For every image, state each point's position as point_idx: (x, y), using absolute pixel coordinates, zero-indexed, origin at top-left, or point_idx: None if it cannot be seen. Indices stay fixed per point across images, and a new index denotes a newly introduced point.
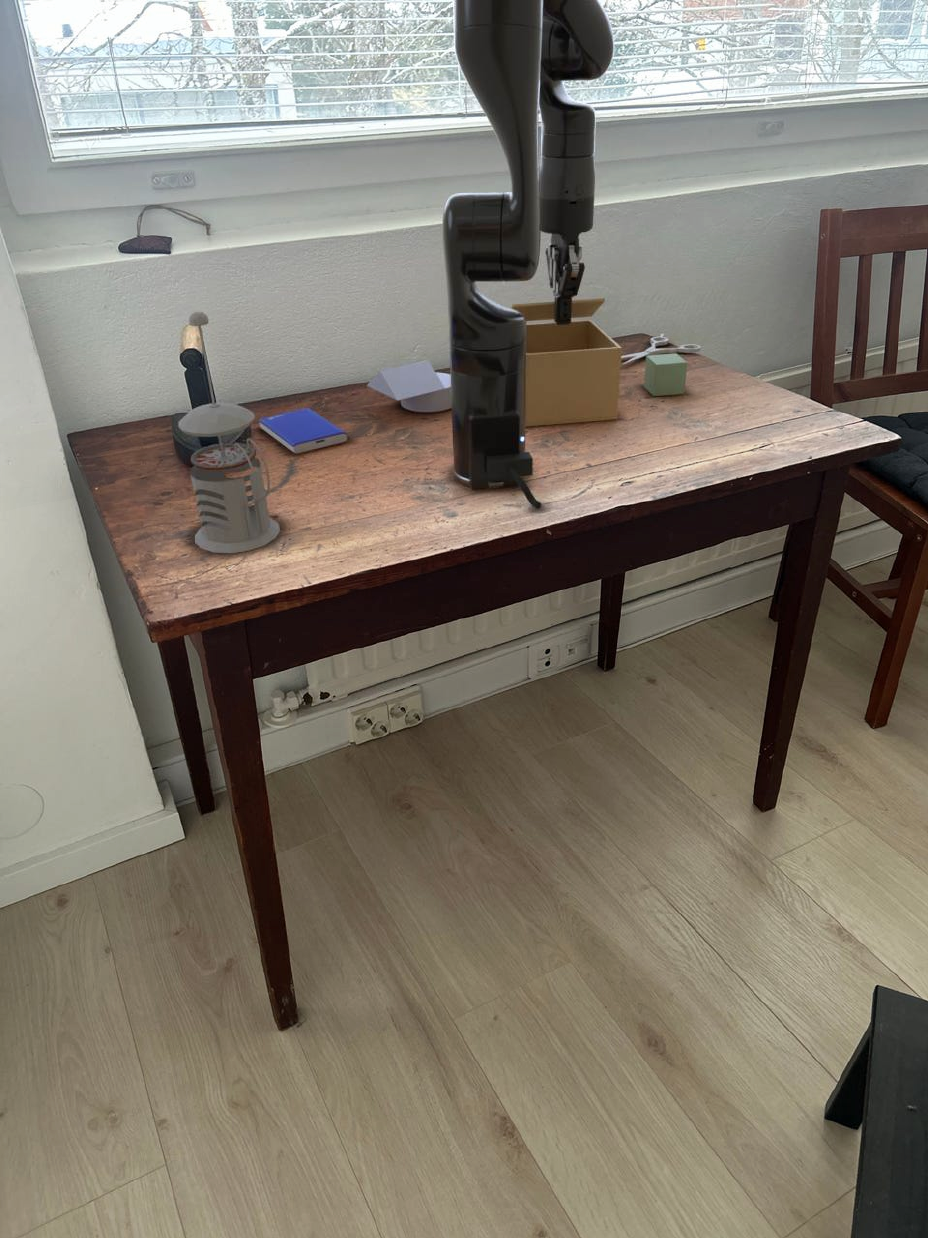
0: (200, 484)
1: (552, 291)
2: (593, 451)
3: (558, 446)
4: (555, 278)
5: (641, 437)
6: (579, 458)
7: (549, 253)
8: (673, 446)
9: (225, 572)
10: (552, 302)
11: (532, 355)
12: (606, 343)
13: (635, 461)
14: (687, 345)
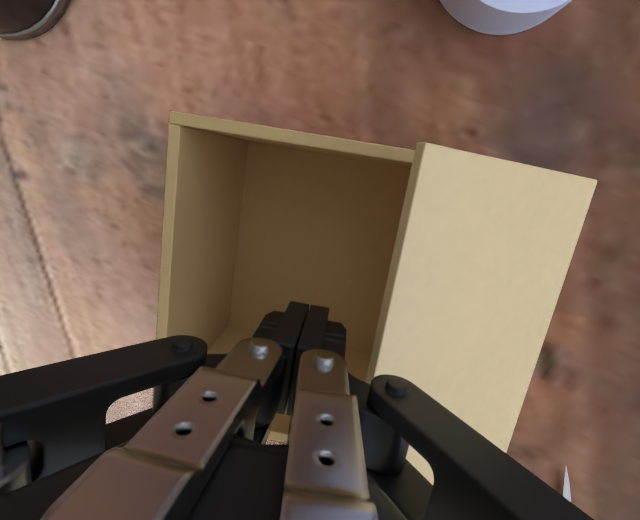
0: None
1: (332, 355)
2: (80, 212)
3: (120, 159)
4: (196, 374)
5: (124, 322)
6: (54, 172)
7: (303, 513)
8: (72, 349)
9: None
10: (378, 345)
11: (168, 138)
12: (274, 418)
13: (22, 260)
14: None
